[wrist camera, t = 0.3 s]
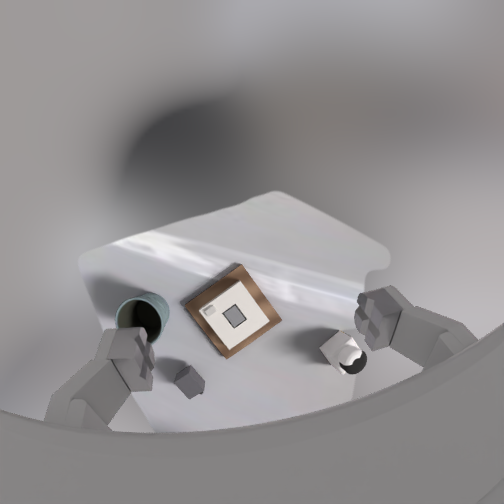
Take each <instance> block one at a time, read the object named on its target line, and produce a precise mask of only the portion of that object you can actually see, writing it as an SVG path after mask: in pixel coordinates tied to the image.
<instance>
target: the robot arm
mask: <svg viewBox="0 0 504 504" xmlns="http://www.w3.org/2000/svg"><path fill="white" fill-rule="evenodd" d="M357 303H358V304H359V307H358V308H357V309H356V311H355V316H354V320H355V325H356V328H357V330H358V331H359V333H361V334H363V335H365V342H366V343H367V345H368V346H369V348H370V349H371V351H375V350H378V349H381V348H385V347H388V346H390V348H392V349H394V350H395V351H397V352H399V353H400V354H402V355H404V356H405V357H407V358H409V359H410V360H412V361H414V362H415V363H417V364H419V365H420V366H422V367H424V368H423V370H422V372H421V373H419V374H416V375H414V376H412V377H410V378H408V379H406V380H403V381H401V382H399V383H396V384H394V385H391V386H389V387H387V388H384V389H382V390H379V391H377V392H374V393H371V394H369V395H366V396H364V397H360V398H357V399H355V400H352V401H349V402H346V403H342V404H339V405H336V406H333V407H329V408H326V409H323V410H319V411H315V412H312V413H308V414H304V415H300V416H296V417H291V418H287V419H282V420H277V421H272V422H267V423H262V424H256V425H250V426H243V427H236V428H228V429H219V430H209V431H197V432H179V433H132V432H114V431H112V430H111V429H110V428H109V427H108V426H107V425H108V424H109V423H110V421H111V420H112V418H113V417H114V416H115V414H116V413H117V411H118V410H119V409H120V407H121V406H122V405H123V403H124V402H125V400H126V399H127V398H128V396H129V395H130V394H131V392H138V391H152V384H153V375H152V373H151V371H152V369H153V368H154V365H155V358H154V351H153V348H152V345H151V343H149V342H148V341H146V339H147V333H146V331H145V329H144V328H143V327H133V328H118V329H117V328H116V329H106V330H105V331H104V333H103V336H102V338H101V341H100V344H99V347H98V350H97V353H96V356H95V359H94V360H90V361H89V362H88V363H87V364H86V365H85V366H84V367H82V368H81V369H80V370H79V371H78V372H77V373H76V374H75V375H73V376H72V377H71V378H70V379H69V380H68V381H67V382H66V383H65V384H64V385H62V386H61V387H60V388H59V389H58V390H57V391H56V392H55V393H54V394H53V395H52V396H51V399H50V402H49V405H48V409H47V412H46V415H45V419H44V421H40V420H36V419H32V418H27V417H24V416H20V415H17V414H13V413H9V412H6V411H4V410H1V409H0V504H504V323H503V324H501V325H500V326H498V327H497V328H496V329H494V330H493V331H491V332H490V333H488V334H487V335H486V336H484V337H482V338H481V339H479V340H478V339H477V338H476V337H475V336H474V335H473V334H472V333H471V332H470V331H469V330H468V329H467V328H466V326H464V324H463V323H460V322H458V321H455V320H453V319H450V318H447V317H444V316H442V315H439V314H437V313H434V312H432V311H429V310H426V309H423V308H421V307H418V306H415V307H414V306H413V305H412V304H411V303H410V302H409V301H408V300H407V299H406V298H405V297H404V296H403V295H402V294H401V293H400V292H399V291H398V290H397V289H396V288H395V287H394V286H391V285H390V286H387V287H383V288H380V289H376V290H372V291H368V292H363V293H360V294H359V296H358V299H357Z"/></svg>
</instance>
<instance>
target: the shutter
mask: <svg viewBox="0 0 504 504" xmlns="http://www.w3.org/2000/svg"><path fill="white" fill-rule="evenodd" d="M224 314H225V316H226V317H227V318H228V320H229V321H230V322H231V324H232V325H233V326H234V327H235V326H237V325H238V324H239V323H241V322H242V321H244V320H245V318H244V316H243V315H242V314H241V312H240V311H239V310H238V308H237V307H236V306H235V305H234V306H233V307H231V308H230V309H228V310H227V311H226V312H224Z"/></svg>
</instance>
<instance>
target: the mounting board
mask: <svg viewBox="0 0 504 504" xmlns="http://www.w3.org/2000/svg"><path fill="white" fill-rule="evenodd" d="M239 280H240V281H241V283H242V284H243V285H244V287H245V288H246V289H247V291H248V292H249V294H250V295H251V296H252V298H253V299H254V300H255V302H256V303H257V305H258V306H259V307H260V309H261V310H262V311H263V313H264V314H265V315H266V317H267V318H268V319H269V322H268V323H267V324H265V325H264V326H262V327H261V328H260V329H258V330H257V331H255V332H254V333H253V334H251V335H250V336H248V337H247V338H246V339H244V340H243V341H241V342H240V343H238V344H237V345H236V346H234V347H233V348H231V349H230V350H229V349H228V348H227V346H226V345H225V344H224V343H223V341H222V340H221V339H220V337H219V336H218V335H217V334H216V332H215V331H214V330H213V329H212V327H211V326H210V325H209V323H208V322H207V321H206V319H205V318H204V317H203V315H202V314H201V313H200V311H199V309H200V308H201V307H202V306H204V305H205V304H207V303H208V302H209V301H211V300H212V299H214V298H215V297H216V296H218V295H219V294H221V293H222V292H223V291H225V290H226V289H228V288H229V287H230V286H232V285H233V284H235V283H236V282H237V281H239ZM185 307H186V308H187V310H188V311H189V312H190V314H191V315H192V316H193V318H194V319H195V320H196V322H197V323H198V324H199V325H200V327H201V328H202V329H203V331H204V332H205V333H206V334H207V336H208V337H209V338H210V340H211V341H212V342H213V343H214V345H215V346H216V347H217V348H218V350H219V351H220V352H221V353H222V354H223V356H224V357H225V358H226V359H228V358H229V357H231V356H232V355H234V354H235V353H237V352H238V351H240V350H241V349H243V348H244V347H246V346H247V345H248V344H250V343H251V342H253V341H254V340H255V339H257V338H258V337H260V336H261V335H263V334H264V333H265V332H267V331H268V330H269V329H271V328H272V327H274V326H275V325H276V324H278V323H279V322H280V321H282V319H281V318H280V317H279V315H278V314H277V312H276V311H275V310H274V308H273V307H272V306H271V304H270V303H269V301H268V300H267V299H266V297H265V296H264V294H263V293H262V292H261V290H260V289H259V288H258V286H257V285H256V283H255V282H254V281H253V279H252V278H251V276H250V275H249V274H248V272H247V271H246V269H245V268H244V267H243V265H242V264H241V265H240V266H238V267H237V268H236V269H234V270H233V271H231V272H230V273H229V274H227V275H226V276H224V277H223V278H222V279H220V280H219V281H217V282H216V283H215V284H213V285H212V286H210V287H209V288H208V289H206V290H205V291H203V292H202V293H201V294H199V295H198V296H196V297H195V298H194V299H192V300H191V301H189V302H188V303H187V304H185Z"/></svg>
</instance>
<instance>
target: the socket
mask: <svg viewBox="0 0 504 504" xmlns="http://www.w3.org/2000/svg"><path fill="white" fill-rule="evenodd" d="M234 305H235V306H236V307H237V308H238V310H239V311H240V312H241V314H242V315H243V316H244V318H245V320H244V321H242V322H241V323H239V324H238V325H237V326H235V327H234V326H233V325H232V324H231V322H230V321H229V320H228V318H227V317H226V316H225V314H224V312H226V311H227V310H228V309H230V308H231V307H233V306H234ZM199 311H200V313H201V314H202V315H203V317H204V318H205V319H206V321H207V322H208V323H209V325H210V326H211V327H212V329H213V330H214V331H215V332H216V334H217V335H218V336H219V337H220V339H221V340H222V341H223V343H224V344H225V345H226V346H227V348H228V349H229V350H230V349H231V348H233V347H234V346H236V345H237V344H238V343H240V342H241V341H243V340H244V339H246V338H247V337H248V336H250V335H251V334H253V333H254V332H255V331H257V330H258V329H260V328H261V327H262V326H264V325H265V324H267V323H268V322H269V319H268V318H267V317H266V315H265V314H264V313H263V311H262V310H261V309H260V307H259V306H258V305H257V303H256V302H255V300H254V299H253V298H252V296H251V295H250V294H249V292H248V291H247V289H246V288H245V287H244V285H243V284H242V283H241V281H240V280H239V281H237V282H236V283H235V284H233V285H232V286H230V287H229V288H228V289H226V290H225V291H223V292H222V293H221V294H219V295H218V296H216V297H215V298H214V299H212V300H211V301H209V302H208V303H207V304H205V305H204V306H202V307H201V308H200V309H199Z"/></svg>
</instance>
